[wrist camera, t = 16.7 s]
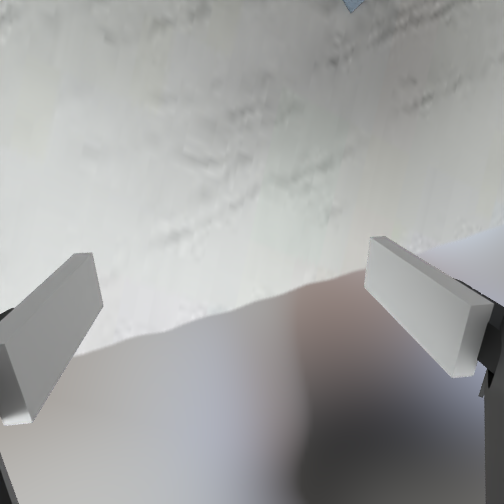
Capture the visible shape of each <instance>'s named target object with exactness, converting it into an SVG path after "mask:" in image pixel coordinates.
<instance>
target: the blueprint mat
mask: <svg viewBox="0 0 504 504" xmlns="http://www.w3.org/2000/svg"><path fill="white" fill-rule="evenodd" d="M343 1H344V3H345V5H346V6H347V8H348V10H349V11H350V13H352V12H353V11H354V10H355V9H356V8H357V7H358V6H359V5H360V4H361V3H362V2H363V1H364V0H343Z"/></svg>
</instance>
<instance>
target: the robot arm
mask: <svg viewBox="0 0 504 504" xmlns="http://www.w3.org/2000/svg"><path fill="white" fill-rule="evenodd" d="M364 287H365V288H366V289H367V290H368V291H369V293H370V294H371V295H372V296H373V297H374V298H375V299H376V300H377V301H378V302H379V303H380V304H381V305H382V306H383V307H384V308H385V309H386V310H387V311H388V312H389V313H390V314H391V315H392V316H393V317H394V318H395V319H396V320H397V322H398V323H399V324H400V325H401V326H402V327H403V328H404V329H405V330H406V331H407V332H408V333H409V334H410V335H411V336H412V337H413V338H414V339H415V340H416V341H417V342H418V343H419V344H420V345H421V346H422V347H423V348H424V349H425V351H426V352H427V353H428V354H429V355H430V356H431V357H432V358H433V359H434V360H435V361H436V362H437V363H438V364H439V365H440V366H441V367H442V368H443V369H444V370H445V371H446V372H447V373H448V374H449V375H450V376H451V377H452V378H457V377H467V376H473V375H474V371H475V368H476V365H477V361H479V362H481V363H482V364H483V365H484V366H485V367H486V368H487V370H486V374H485V377H484V380H483V383H482V387H481V390H480V393H479V396H480V397H483V396H484V404H485V406H484V408H485V486H486V504H504V307H503V306H501V305H500V304H498V303H496V302H495V301H493V300H491V299H490V298H488V297H486V296H485V295H483V294H481V293H480V292H478V291H477V290H475V289H472V288H471V287H470V286H468V285H467V284H465V283H464V282H462V281H459V280H457V279H454V278H452V277H450V276H448V275H446V274H445V273H444V272H442V271H440V270H439V269H437V268H435V267H434V266H432V265H431V264H429V263H427V262H426V261H424V260H423V259H421V258H419V257H418V256H416V255H414V254H413V253H411V252H410V251H408V250H406V249H405V248H403V247H401V246H400V245H398V244H397V243H395V242H393V241H392V240H390V239H389V238H387V237H385V236H381V237H370V243H369V251H368V259H367V267H366V276H365V284H364ZM102 308H103V301H102V297H101V292H100V287H99V282H98V277H97V273H96V268H95V263H94V258H93V254H92V253H76V254H73V255H72V256H71V257H70V258H69V259H68V260H67V261H66V262H65V263H64V264H62V265H61V266H60V267H59V268H58V269H57V270H56V271H55V272H54V273H53V274H52V275H50V276H49V277H48V278H47V279H46V280H45V281H44V282H43V283H42V284H41V285H39V286H38V287H37V288H36V289H35V290H34V291H33V292H32V293H31V294H30V295H29V296H27V297H26V298H25V299H24V300H23V301H22V302H21V303H20V304H19V305H18V306H16V307H15V308H11V309H9V310H7V311H5V312H3V313H2V314H0V417H1V419H2V422H3V424H4V426H7V425H16V424H26V423H33V421H34V419H35V418H36V416H37V414H38V413H39V411H40V410H41V408H42V406H43V405H44V403H45V401H46V400H47V398H48V396H49V395H50V393H51V391H52V390H53V388H54V386H55V385H56V383H57V382H58V379H59V378H60V377H61V375H62V373H63V372H64V370H65V368H66V367H67V365H68V364H69V362H70V360H71V359H72V357H73V355H74V354H75V352H76V350H77V349H78V347H79V345H80V344H81V342H82V340H83V339H84V337H85V336H86V334H87V332H88V331H89V329H90V327H91V326H92V324H93V322H94V321H95V319H96V317H97V316H98V314H99V312H100V311H101V309H102ZM0 504H19V503H18V501H17V498H16V495H15V492H14V489H13V487H12V484H11V481H10V479H9V476H8V473H7V470H6V467H5V465H4V462H3V459H2V457H1V454H0Z"/></svg>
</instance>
